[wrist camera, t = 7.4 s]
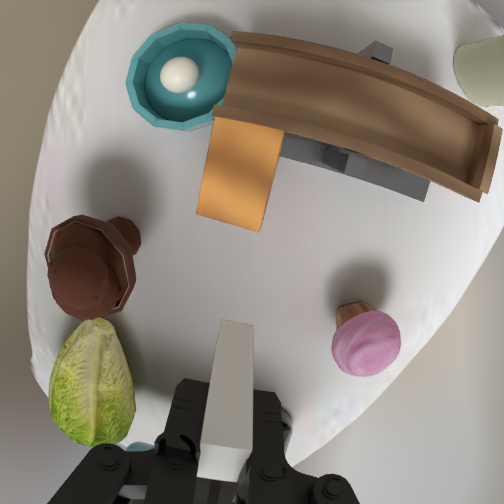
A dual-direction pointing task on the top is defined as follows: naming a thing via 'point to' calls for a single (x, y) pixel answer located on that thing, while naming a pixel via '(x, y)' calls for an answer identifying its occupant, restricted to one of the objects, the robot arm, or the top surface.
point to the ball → (179, 74)
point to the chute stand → (355, 162)
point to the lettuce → (92, 386)
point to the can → (481, 71)
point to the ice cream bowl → (92, 265)
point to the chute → (335, 123)
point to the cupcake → (364, 340)
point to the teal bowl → (190, 102)
